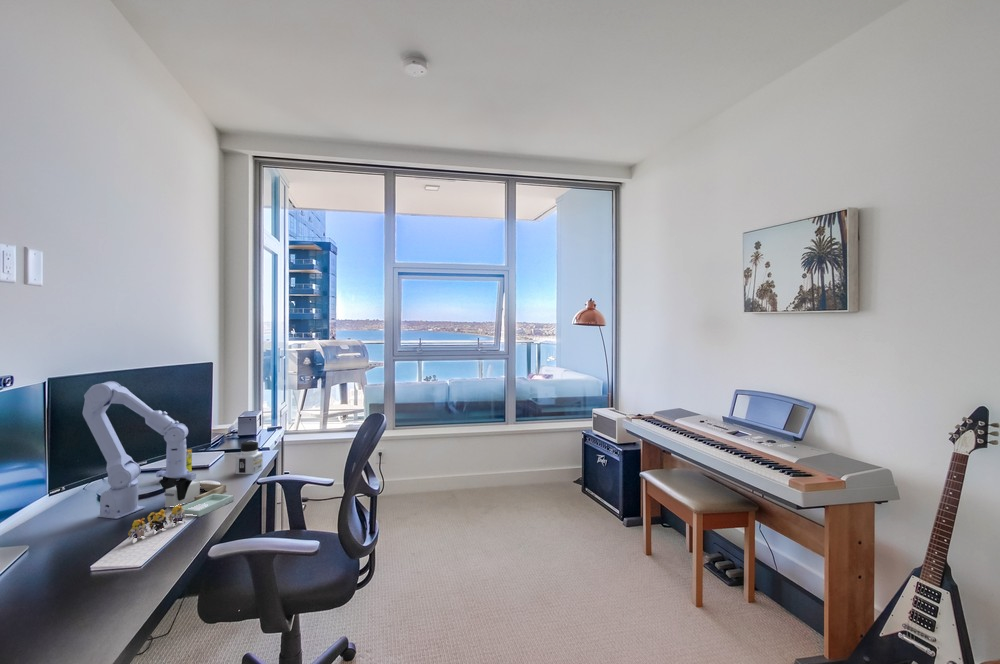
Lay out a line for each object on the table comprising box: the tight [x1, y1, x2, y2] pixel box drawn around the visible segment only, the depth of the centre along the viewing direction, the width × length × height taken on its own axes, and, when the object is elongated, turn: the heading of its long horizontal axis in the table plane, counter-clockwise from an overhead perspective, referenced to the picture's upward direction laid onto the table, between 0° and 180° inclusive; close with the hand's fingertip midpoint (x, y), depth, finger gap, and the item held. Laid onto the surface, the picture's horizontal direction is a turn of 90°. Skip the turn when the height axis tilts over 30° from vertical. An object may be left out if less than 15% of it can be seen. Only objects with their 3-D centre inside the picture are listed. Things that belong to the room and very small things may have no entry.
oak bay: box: [193, 482, 227, 502], centre depth 166 cm, size 13×12×2 cm
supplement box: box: [177, 449, 193, 480], centre depth 188 cm, size 6×6×11 cm
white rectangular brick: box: [164, 480, 201, 508], centre depth 159 cm, size 11×4×6 cm, turn 169°
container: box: [235, 440, 264, 475], centre depth 196 cm, size 8×8×13 cm
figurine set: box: [127, 504, 187, 540], centre depth 137 cm, size 3×16×7 cm, turn 161°
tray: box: [181, 493, 235, 518], centre depth 156 cm, size 15×9×2 cm, turn 168°
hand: (176, 498), depth 157 cm, fingers closed on white rectangular brick, 4 cm apart
